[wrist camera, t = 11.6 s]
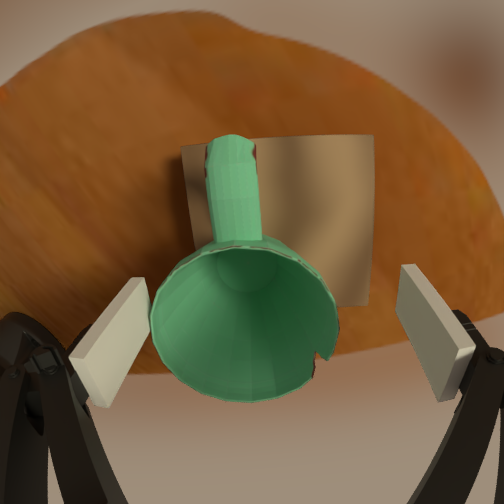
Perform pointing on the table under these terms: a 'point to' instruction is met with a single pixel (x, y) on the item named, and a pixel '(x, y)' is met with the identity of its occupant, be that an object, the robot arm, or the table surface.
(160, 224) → the table surface
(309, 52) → the table surface
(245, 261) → the mug
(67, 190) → the table surface
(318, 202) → the walnut board
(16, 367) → the robot arm
